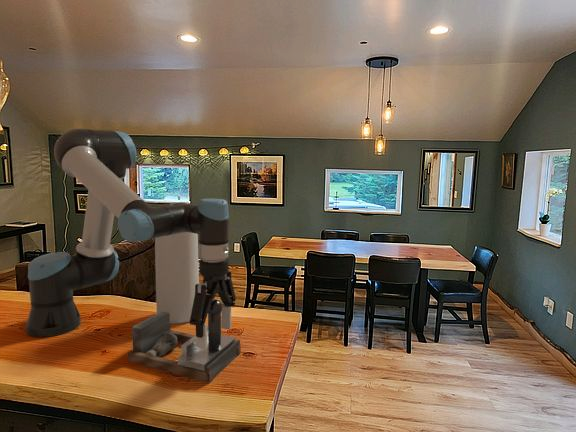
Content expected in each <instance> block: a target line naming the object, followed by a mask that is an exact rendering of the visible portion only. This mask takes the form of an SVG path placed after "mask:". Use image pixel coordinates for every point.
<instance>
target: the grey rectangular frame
mask: <svg viewBox="0 0 576 432" xmlns="http://www.w3.org/2000/svg"><path fill="white" fill-rule="evenodd" d="M170 325H171V324H170V318H169V313H167V312H162V311H161V312H159V313H157V312H156V313H155V314H154V315H151V316H150V317H148V318H146V319H144V320H142V321H141V322H138V323H137V324H135V325H133V326H132V327H131V335H132V349H131V350H130V351H128V352H127V362H130V363H133V364H136V365H141V366H145V367H147V368H153V369H156V370H159V371H164V372H166V373H167V372H168V373H170V374H174V375H178V376H181V377H185V378H189V379H193V380H196V381H200V382H205V383H207V384H210V383H212V381H213V380H214V379H215V378H217V376H218V375H219V374H220V373H221V372H222V371H223V370H224V369H225V368H227V367H228V366H229V364H231V363H232V362H233V361H234V360H235V359H236V358H237V357H238V356H240V355H241V349H242V347H241V340H240V339H236V342H234V343H233V344H232V345H231V346H230V347H229V348H228V349H226V350H225V351H224V352H223V353H222V354H221V355H220V356H218V357H217V358H216V359H215V360H214V361H213V362H212V363H210V364H209V365H208V366H207V367H206V370H205V371H201V370H197V369H193V368H190V367H186V366H182V365H178V361H176V360H172V359H169V358H164V357H162V356H161V357H157V356H153V355H149V354H146V352H147V351H149V350H151V348H152V347H153V345H154V344H155V342H156V341H157V340H158V339H159V337H160V336H161V335H162V334H163V333H165V332H169V333H173V334H174V335H175V336H176V337H177V341H178V343H181V344H184V343H186V342H187V341H188V340H190V339H191V338H193V337H194V336H195V335H196V334H191V333H187V332H181V331H178V330H172V329H171V326H170Z"/></svg>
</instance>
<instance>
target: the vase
mask: <svg viewBox="0 0 576 432" xmlns="http://www.w3.org/2000/svg"><path fill="white" fill-rule="evenodd" d="M154 250H155V251H154V254H155V255H154V256H155V257H154V260H155V261H154V262H155V302H156V303H155V304H156V314H157V313H159V312H161V311H162V312H167V313H169V318H170V325H177V324H179V325H180V324H185V323H190V317H191V312H192V307H193V302H194V297H195V285H196V284H200V276H199V275H200V272H199V234H196V233H190V232H183V233H178V234H173V235H168V236H162V237H158V238H154Z"/></svg>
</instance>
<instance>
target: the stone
mask: <svg viewBox="0 0 576 432" xmlns="http://www.w3.org/2000/svg"><path fill="white" fill-rule="evenodd" d="M178 343H179V342H178V341H177V337H176V336H175V335H174V334H173V333H169V332H165V333H163V334H162V335H161V336H160V337H159V339H158V340H157V341H156V342H155V344H154V345H153V347H152V348H151V350H149V351H147V352H146V354H149V355H153V356H157V357H161V358H162V357H163V356H165V355H167V353H168V352H170V351H172V350H174V349H176V348H177V346H178Z"/></svg>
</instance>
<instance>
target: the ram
mask: <svg viewBox="0 0 576 432" xmlns="http://www.w3.org/2000/svg"><path fill="white" fill-rule="evenodd" d="M222 306H223V303H222V301H221V300H218V299H215V298H214V299H213V300H212V302H211V305H210V308H209V311H208V315H207V349H201V348H197V347H196V334H194V335H195V336H194V337H193V338H191V339H190V340H188V341H187V342H186V343H182V344H181V346H180V347H181V355H180V356H178V357H177V362H178V365H182V366H186V367H190V368H193V369H197V370H201V371H205V370H206V367H207V366H208V365H209V364H210V363H212V362H213V361H214V360H215V359H216V358H217V357H218V356H220V355H221V354H222V353H223V352H224V351H225V350H226V349H228V348H229V347H230V346H231V345H232V344H233V343H234V342H236V341H237V337H236V336H232V335H231V336H230V335H227V334H222V327H221V311H222V308H223V307H222Z"/></svg>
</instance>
